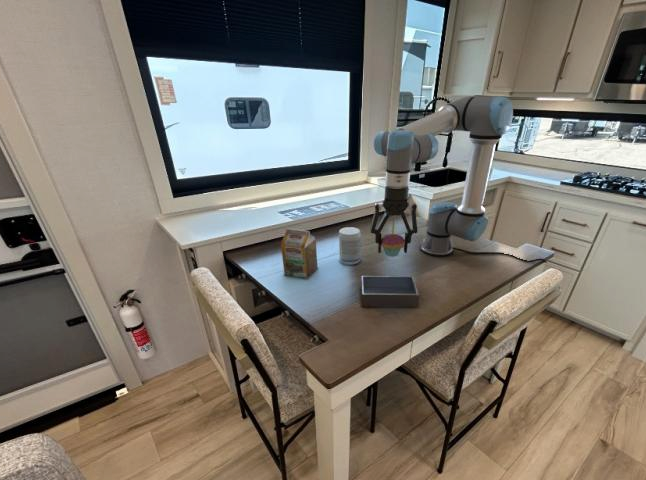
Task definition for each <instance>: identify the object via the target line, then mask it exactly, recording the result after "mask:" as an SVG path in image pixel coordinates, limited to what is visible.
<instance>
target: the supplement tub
mask: <svg viewBox="0 0 646 480" xmlns="http://www.w3.org/2000/svg"><path fill="white" fill-rule="evenodd" d="M338 246H339V247H338V249H339V250H338V251H339V261H340V263H341V264H343V265H348V266H351V265H352V266H353V265H356V264H359V263H360V261H361V230H360V229H359V228H357V227H351V226H349V227H348V226H347V227H343V228H340V229H339V231H338Z"/></svg>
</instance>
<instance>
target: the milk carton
mask: <svg viewBox="0 0 646 480" xmlns="http://www.w3.org/2000/svg"><path fill="white" fill-rule="evenodd" d="M280 249H281V256H282V257H281V258H282V264H283V273H284V276H288V277H291V278H292V277H293V278H298V279H303V280H308V279H309V278H310V277H311V276H312V275H313V274H314V273H315V271H317V269H318V253H317V238H316V236H314V235H312V234H311V233H310V231H309V230H302V229H294V228H285V233H284V235H283V237H282V240H281V242H280Z"/></svg>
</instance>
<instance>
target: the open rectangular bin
mask: <svg viewBox="0 0 646 480" xmlns="http://www.w3.org/2000/svg"><path fill="white" fill-rule="evenodd" d="M360 281H361V283H360V285H361V286H360V288H361V289H360V290H361V291H360V292H361V293H360V294H361V307H362V308H418V306H419V305H418V304H419V298H420V297H419V296H420V294H419V290H418V287H417V284H416V281H415V278H414V276H412V275H411V276H410V275H361V280H360Z"/></svg>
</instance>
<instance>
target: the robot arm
mask: <svg viewBox="0 0 646 480" xmlns="http://www.w3.org/2000/svg"><path fill="white" fill-rule="evenodd" d="M513 118H514V107H513V104H512V101H511V100H510V99H509V98H508V97H503V96H498V95H497V96H474V95H473V96H466V97H461V98H460V99H456V100H453V101H451V102H448V103H446V104H444V105H442V106H440V108H438V110H437V111H435V112H433V113H430V114H429V115H426V116H423V117H421V118H420V119H417V120H415V121H412V122H410V123H408V124H406V125H403V126H401V127H399V128H397V129H394V130H391V131H387V130H385V131H379V132H377V134H376V135H375V137H374V139H373V149H374V151H375V153H376V154H377V155H380V156H382V157H386V163H385V165H386V166H385V178H384V179H385V181H384V182H385V183H384V184H385V185H386V186H384V199H383V201H382V202H375V203H374V213H373V217H372V221H371V226H370V233H371V234H373V235H375V237H374V238H375V239H374V241H375V244H377V245H378V246H377V251H378V254H382V253H381V252H382V245H381V239H382V238H383V237H382V236H383V235H382V230H383V228H384V226H385V225H386V223H387V222H388V219H390V216H391V217H392V216H398V217H399V216H401V218H402V219H401V220H402V221H403V224H404V226H405V229H406V231H407V232H404V240H405V245H404V247H403V253H404V254H407V253H408V247H409V246H408V245H409V244H411V243H412V236H413V234H417V233H418V222H417V213H416V212H417V208H418V205H417V203H416V202H409V192H410V191H409V190H410V187H409V185H410V179H411V168H412V164H417V163H423V162H428V161H430V160H433V159H434V158H436V156H437V155H438V152H439V147H440V145H439V141H438V139H437V137H436V136H439V135H441V134H443V133H445V134H446V133H447V134H448V133H451V132H455V131H456V132H457V131H459V132H468V133H469V137H468V139H469V140H470V141H471V149H470V154H469V160H468V165H467V170H466V176H465V182H464V185H463V186H464V187H463V192H462V197H461V204H459V205H458V204H457V203H455V202H452V201H450V202H449V201H441V202H435V203H433V204H432V205H431V206H430V208H429V213H428V221H427V229H426V234H425V236H424V237H423V240H422V242H421V245H420V251H421V252H423V253H425V254H426V255H428V256H433V257H446V256H449V255H451V254H452V253H453V250H454V251H457V252H458V251H459V252H462V253H465V254H469V255H503V256H508V257H511V258H514V259H516V260H518V261H521V262H525V263H535V262H540V261H542V262H543V263H544V264H548V261H547V260H546V259H545V258H541V257H539V258H535V259H529V260H530V261H527V260H528V259H526V260H523V259H524V258H522V259H520V258H521V257H519V258H517V257H518V256H517V257H515V256H516V255H515V256H513V255H514V254H512V255H509V254H510V253H508V254H504V253H505V252H502V251H501V252H500V251H498V252H497V251H492V252H491V251H469V250H465V249H462V248H458V247H454V246H453V241H452V236H454V237H457V238H460V239H462V240H464V241H470V242H475V241H477V240H479V239H480V238H481V237H482V236H483V235H484V233H485V232H486V230H487V227H488V225H489V217H488V216H487V215H485V212H486V208H485V207H484V206H483V205H484V200H485V196H486V191H487V186H488V181H489V177H490V173H491V168H492V165H493V164H492V163H493V158H494V153H495V151H496V144H498V142H500V141H501V140H502V137H503V135H506V134H507V133H508V132H509V130H510V127H511V126H512V124H513ZM382 208H384V210H385V211H384V214H383V215H382V218H381V220H380V221H379V223H378V219H379V216H380V211H382ZM408 208H409V210H410V217H411V225H412V228H411V227H410V224H409V221H408V219H407V216H406V214H405V211H406V210H407V209H408ZM377 224H378V225H377Z"/></svg>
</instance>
